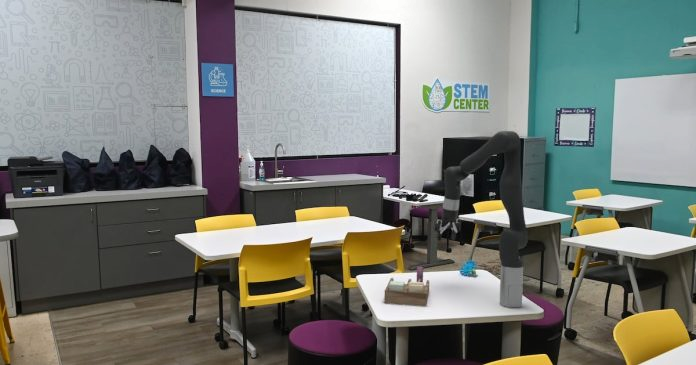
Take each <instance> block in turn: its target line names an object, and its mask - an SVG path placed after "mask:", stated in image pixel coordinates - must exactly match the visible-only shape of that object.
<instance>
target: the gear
mask: <svg viewBox="0 0 696 365" xmlns="http://www.w3.org/2000/svg"><path fill="white" fill-rule="evenodd" d="M461 265H462V266H463V267H462V266H460V267H459V269H460V270H459V273H460V275H461V276H465V277H467V275H468V276H471V274H472V275H474V276H475V277H478V274H477V271H476V269H477V266H478V264H477V262H476V261H475V260H472V259H470V260H469V261H468V260H466V261H465V263H462V264H461Z"/></svg>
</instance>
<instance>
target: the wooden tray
mask: <svg viewBox="0 0 696 365" xmlns="http://www.w3.org/2000/svg"><path fill="white" fill-rule="evenodd" d="M394 280H395V279H394V277H390V279H389V281H388V283H387V286H386V287H385V289H384V302H383V303H384V304H390V303H393V305H403V304H405V305H406V306H417V307H419V306H420V307H427V304H428V299H429V294H430V280H429V279H427V280H426V283H425V284H424V289H423V293H422V292H409V283H410V282H412V278H408V279H407V283H405V284H404V291H393V290H389V284H390V282H391V281H394Z"/></svg>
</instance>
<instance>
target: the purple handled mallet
mask: <svg viewBox="0 0 696 365" xmlns="http://www.w3.org/2000/svg"><path fill="white" fill-rule="evenodd" d="M424 285H425V284H424V267H422V266H417V267H416V281H411V282H410V283H409V292H422V293H423V289H424Z"/></svg>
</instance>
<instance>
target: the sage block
mask: <svg viewBox="0 0 696 365" xmlns="http://www.w3.org/2000/svg"><path fill="white" fill-rule="evenodd" d="M404 284H406V283H405V281H401V280H400V281H399V280H393V281H391V282H390V284H389V290H393V291H404Z"/></svg>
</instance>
